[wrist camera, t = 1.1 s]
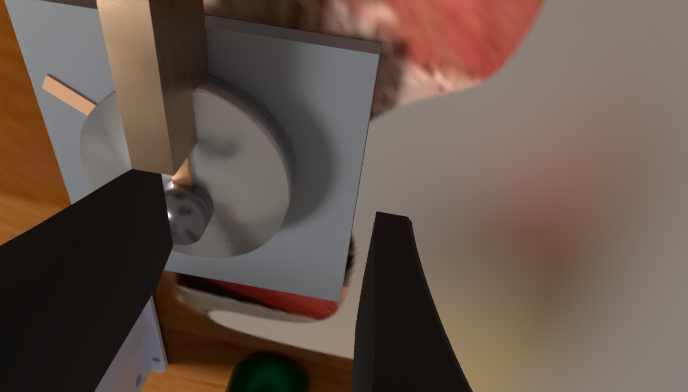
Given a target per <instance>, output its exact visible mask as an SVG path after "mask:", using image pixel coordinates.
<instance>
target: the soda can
mask: <svg viewBox="0 0 688 392" xmlns="http://www.w3.org/2000/svg"><path fill="white" fill-rule="evenodd" d="M310 389H311V386H310V383H309V380H308V378H307V376H306V375H305V373H304V372H303V370H302V369H301V368H300V367H299V366H297V365H296V364H295V363H293V362H291V361H289V360H287V359H285V358H282V357H279V356H274V355H267V354H261V355H254V356H250V357H248V358H246V359H244V360H243V361H241V362H239V363H238V364H237V365H236V366H235V367H234V368H233V371H232V374H231V376H230V379H229V382H228V385H227V388H226V390H225V392H310Z"/></svg>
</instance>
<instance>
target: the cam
mask: <svg viewBox="0 0 688 392" xmlns="http://www.w3.org/2000/svg"><path fill="white" fill-rule="evenodd" d="M96 1H97V6H98V11H99V16H100V20H101V25H102V30H103V34H104V39H105V44H106V48H107V53H108V58H109V63H110V67H111V72H112V77H113V81H114V86H115V89H114V90H113V91H112V92H111V93H109V94H108V95H107V96H106V97H105V98H104V99H103V100H102V101H100V102H99V103H98V104H97V105H96V106H95V107H94V108H93V110H92V111H91V112H90V113H89V115H88V116H87V118H86V120H85V122H84V124H83V128H82V131H81V135H80V156H81V161H82V166H83V168H84V171H85V174H86V177H87V179H88V181H89V183H90V185H91V187H92V188H93V190H94V191H95V190H96V189H98V188H100V187H101V186H103V185H105V184H106V183H108V182H110V181H111V180H113V179H115V178H116V177H118V176H120V175H121V174H123V173H125V172H127V171H129V170H130V169H137V170H142V171H148V172H154V173H160V174H161V175H162V181H163V187H164V193H165V199H166V205H167V211H168V217H169V223H170V229H171V235H172V241H173V249H172V251H175V252H179V253H182V254H186V255H191V256H196V257H203V258H228V257H234V256H239V255H243V254H246V253H249V252H251V251H254V250H256V249H258V248H259V247H261V246H263V245H264V244H266V243H267V242H268V241H269V240H270V239H271V238H272V237H273V236H274V235H275V234H276V233H277V231H278V230H279V228H280V226H281V224H282V223H283V220H284V218H285V215H286V212H287V209H288V206H289V204H290V201H291V198H292V195H293V192H294V189H295V183H296V166H295V160H294V155H293V152H292V149H291V146H290V144H289V142H288V140H287V138H286V136H285V134H284V132H283V131H282V129H281V128H280V126H279V124H278V123H277V122H276V120H275V119H274V118H273V117H272V116H271V114H270V113H269V112H268V111H267V110H266V109H265V108H264V107H263V106H262V105H261V104H260V103H259V102H258V101H257V100H255V99H254V98H253V97H251V96H250V95H249V94H247V93H246V92H245V91H243V90H242V89H240V88H238V87H237V86H235V85H233V84H232V83H230V82H227V81H225V80H223V79H221V78H219V77H217V76H214V75H211V74H209V71H208V58H207V45H206V32H205V19H204V6H203V0H96Z"/></svg>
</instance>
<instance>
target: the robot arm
mask: <svg viewBox="0 0 688 392" xmlns="http://www.w3.org/2000/svg"><path fill="white" fill-rule="evenodd" d="M172 249H173V241H172V235H171V229H170V223H169V217H168V211H167V205H166V199H165V193H164V187H163V181H162V175H161V174H160V173H154V172H148V171H142V170H137V169H130V170H129V171H127V172H125V173H123V174H121V175H120V176H118V177H116V178H115V179H113V180H111V181H110V182H108V183H106V184H105V185H103V186H101V187H100V188H98V189H96V190H95V191H93V192H92V193H90V194H88V195H87V196H85V197H83V198H82V199H80V200H78V201H77V202H75V203H74V204H72V205H70V206H69V207H67V208H65V209H64V210H62V211H60V212H59V213H57V214H55V215H53V216H52V217H50V218H48V219H47V220H45V221H43V222H42V223H40V224H38V225H37V226H35V227H33V228H32V229H30V230H28V231H26V232H25V233H23V234H21V235H19V236H17V237H15V238H14V239H12V240H10V241H8V242H6V243H4V244H3V245H1V246H0V392H140V391H141V389H142V387H143V385H144V383H145V381H146V379H147V377H148V375H149V373H150V371H151V370H152V371H157V372H165V371H166V369H167V367H168V362H167V358H166V353H165V349H164V345H163V340H162V336H161V331H160V327H159V323H158V318H157V314H156V309H155V305H154V300H153V296H152V294H153V292H154V290H155V288H156V286H157V284H158V282H159V279H160V277H161V275H162V273H163V270H164V268H165V266H166V263H167V261H168V258H169V256H170V253H171V251H172ZM355 329H356V330H355V345H354V362H353V379H352V392H473V391H472V389H471V388H470V386H469V384H468V381H467V379H466V377H465V375H464V373H463V371H462V369H461V367H460V364H459V362H458V360H457V358H456V356H455V354H454V351H453V349H452V347H451V344H450V342H449V339H448V337H447V335H446V333H445V330H444V328H443V325H442V323H441V320H440V317H439V315H438V312H437V309H436V307H435V304H434V301H433V299H432V296H431V293H430V290H429V287H428V284H427V281H426V279H425V275H424V272H423V269H422V265H421V262H420V258H419V254H418V251H417V247H416V242H415V238H414V233H413V227H412V222H411V221H410V219H409V218H408V217H406V216H400V215H394V214H388V213H383V212H376V217H375V222H374V227H373V232H372V237H371V242H370V248H369V252H368V257H367V262H366V267H365V272H364V277H363V283H362V289H361V295H360V302H359V308H358V314H357V321H356V328H355Z"/></svg>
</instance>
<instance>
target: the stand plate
mask: <svg viewBox="0 0 688 392" xmlns="http://www.w3.org/2000/svg"><path fill="white" fill-rule="evenodd" d="M5 3H6V6H7V9H8V12H9V15H10V18H11V21H12V24H13V27H14V30H15V33H16V36H17V39H18V42H19V46H20V49H21V52H22V55H23V58H24V61H25V64H26V67H27V70H28V73H29V76H30V79H31V82H32V85H33V88H34V91H35V94H36V97H37V100H38V103H39V106H40V109H41V112H42V115H43V118H44V121H45V124H46V127H47V131H48V134H49V137H50V140H51V143H52V146H53V149H54V152H55V155H56V158H57V161H58V164H59V167H60V170H61V173H62V176H63V179H64V182H65V185H66V188H67V191H68V194H69V197H70V200H71V203H72V204H74V203H75V202H77V201H78V200H80V199H82V198H83V197H85V196H87V195H88V194H90V193H92V192H93V191H94V190H93V188H92V187H91V185H90V183H89V181H88V179H87V177H86V174H85V171H84V168H83V166H82V161H81V156H80V135H81V131H82V128H83V124H84V122H85V120H86V118H87V116H88V115H89V113H90V112H91V111H92V110H93V108H94V107H95V106H96V105H97V104H98V103H99V102H100V101H102V100H103V99H104V98H105V97H106V96H107V95H108V94H109V93H111V92H112V91H113V90H114V89H115V86H114V81H113V77H112V72H111V67H110V63H109V58H108V53H107V48H106V44H105V39H104V34H103V30H102V25H101V20H100V16H99V11H98V6H97V1H96V0H5ZM204 19H205V32H206V45H207V58H208V71H209V74H211V75H214V76H217V77H219V78H221V79H223V80H225V81H227V82H230V83H232V84H233V85H235V86H237V87H238V88H240V89H242V90H243V91H245V92H246V93H247V94H249V95H250V96H251V97H253V98H254V99H255V100H257V101H258V102H259V103H260V104H261V105H262V106H263V107H264V108H265V109H266V110H267V111H268V112H269V113H270V114H271V116H272V117H273V118H274V119H275V120H276V122H277V123H278V124H279V126H280V128H281V129H282V131H283V132H284V134H285V136H286V138H287V140H288V142H289V144H290V146H291V149H292V152H293V155H294V160H295V166H296V183H295V189H294V192H293V195H292V198H291V201H290V204H289V206H288V209H287V212H286V215H285V218H284V220H283V223H282V224H281V226H280V228H279V230H278V231H277V233H276V234H275V235H274V236H273V237H272V238H271V239H270V240H269V241H268V242H267V243H266V244H264V245H263V246H261V247H259V248H258V249H256V250H254V251H251V252H249V253H246V254H243V255H239V256H234V257H228V258H203V257H196V256H191V255H186V254H182V253H179V252H175V251H171V253H170V256H169V258H168V261H167V263H166V266H165V268H164V270H166V271H172V272H177V273H183V274H188V275H194V276H199V277H204V278H210V279H215V280H221V281H226V282H232V283H237V284H243V285H248V286H254V287H259V288H264V289H270V290H275V291H281V292H286V293H292V294H297V295H303V296H308V297H314V298H319V299H325V300H330V301H335V302H340V299H341V294H342V289H343V283H344V277H345V270H346V264H347V258H348V252H349V245H350V239H351V233H352V227H353V220H354V214H355V208H356V201H357V195H358V189H359V183H360V176H361V170H362V164H363V158H364V152H365V145H366V139H367V133H368V126H369V120H370V114H371V108H372V101H373V95H374V89H375V83H376V76H377V70H378V64H379V58H380V51H381V45H382V43H378V42H371V41H365V40H359V39H353V38H346V37H340V36H334V35H327V34H321V33H315V32H309V31H302V30H296V29H290V28H284V27H277V26H271V25H265V24H258V23H252V22H246V21H240V20H233V19H227V18H221V17H215V16H208V15H204Z"/></svg>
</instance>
